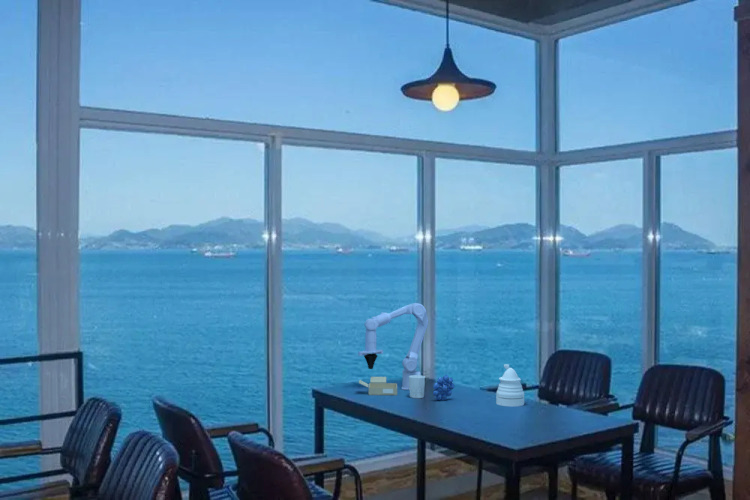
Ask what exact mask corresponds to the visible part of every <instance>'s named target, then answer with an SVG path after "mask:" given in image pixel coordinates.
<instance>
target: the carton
mask: <svg viewBox="0 0 750 500" xmlns="http://www.w3.org/2000/svg"><path fill="white" fill-rule="evenodd" d="M368 384H369V385H368V396H398V384H397V383H396V382H395V383H394V382H393V383H392V382H386V383H370V382H369V383H368Z"/></svg>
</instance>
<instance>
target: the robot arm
mask: <svg viewBox="0 0 750 500" xmlns="http://www.w3.org/2000/svg"><path fill="white" fill-rule="evenodd" d="M427 313H428V312H427V310H426V307H424V305H423V304H421V303H418V302H413V303H410V304H407V305H404V306H403V307H399V308H397V309H395V310H394V311H391V312H389V313H388V312H383V311H381V313H380V314H378V315H376V316H372V317H371V318H367V319H366V321H365V322H364V327H365V333H364V334H365V336H364V337H365V342H364V349H365V350H362V351H358V352H357V355H358V357H359V356H360V357H362V356H363V357H364V359H365V361H366V364H367V369H369V370H373V369H374V365H375V362H376V360H377V358H378V355H383V354H384V349H377V328H380V327H382V326H385V325H387V324H389V323H390V322H391V321H392V320H393V319H395V318H398V317H401V316H403V315H413V316H414V317H415V319H416V320H417V326H416V328H415V332H414V335H413V337H412V341H411V344H410V346H409V349H408V352H407V353H406V356H405V357H404V358H403V360H402V362H401V365H402V367H403V369H402V385H401V390H403V391H404V390H406V391H407V390H409V376H411V375H421V371H417V368H418V358H419V357H418V356H419V352H420V350H421V346H422V344H423V340H424V337H425V335H426V332H427V331H426V330H427V327H428V326H429V318H428V314H427Z"/></svg>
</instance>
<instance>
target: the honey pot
mask: <svg viewBox="0 0 750 500" xmlns="http://www.w3.org/2000/svg"><path fill="white" fill-rule="evenodd" d="M503 368H504V369H505V371H504V372H503V374H502V376H500V377H498V380H499V384H498V387H497V390H496V392H495V393H496V395H495V396H496V397H495V402H496V403H495V405H498V406H502V407H513V408H514V407H522V406H524V405H525V391H524V389H523V385H522V384H521V381H522V379H521V378H520V377H519V375H518V374H517V372H516V370H515V369H514V368H512V367H510V364H509V363H506V364H503Z"/></svg>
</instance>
